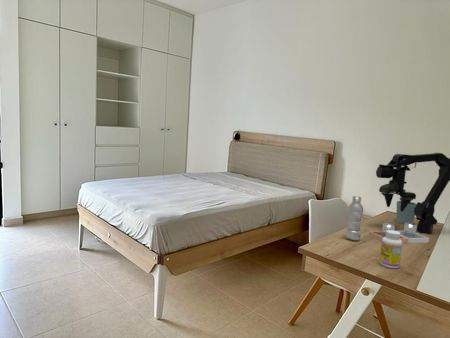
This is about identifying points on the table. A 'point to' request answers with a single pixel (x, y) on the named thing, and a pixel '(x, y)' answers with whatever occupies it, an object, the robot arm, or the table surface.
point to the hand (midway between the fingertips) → (394, 209)
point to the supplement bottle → (391, 249)
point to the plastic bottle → (354, 219)
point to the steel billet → (387, 228)
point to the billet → (410, 230)
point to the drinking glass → (405, 213)
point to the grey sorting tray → (401, 237)
